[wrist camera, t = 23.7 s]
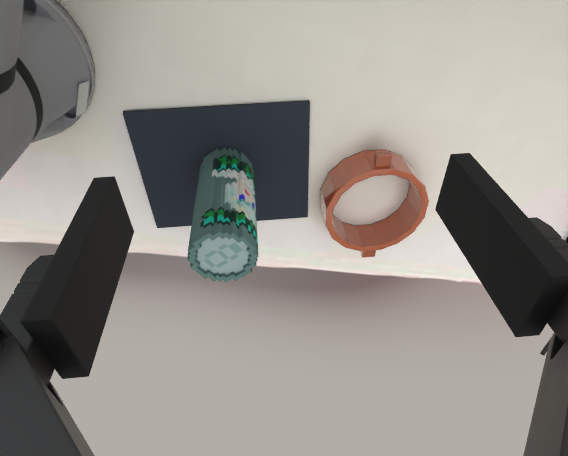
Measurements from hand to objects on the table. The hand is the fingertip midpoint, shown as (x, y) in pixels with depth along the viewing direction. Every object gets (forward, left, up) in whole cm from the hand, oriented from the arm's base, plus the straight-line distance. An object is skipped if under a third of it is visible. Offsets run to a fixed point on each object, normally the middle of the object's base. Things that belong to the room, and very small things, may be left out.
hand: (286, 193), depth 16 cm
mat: (-5, -16, -29) cm, 33 cm away
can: (-5, -16, -28) cm, 33 cm away
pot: (+13, -21, -29) cm, 38 cm away
